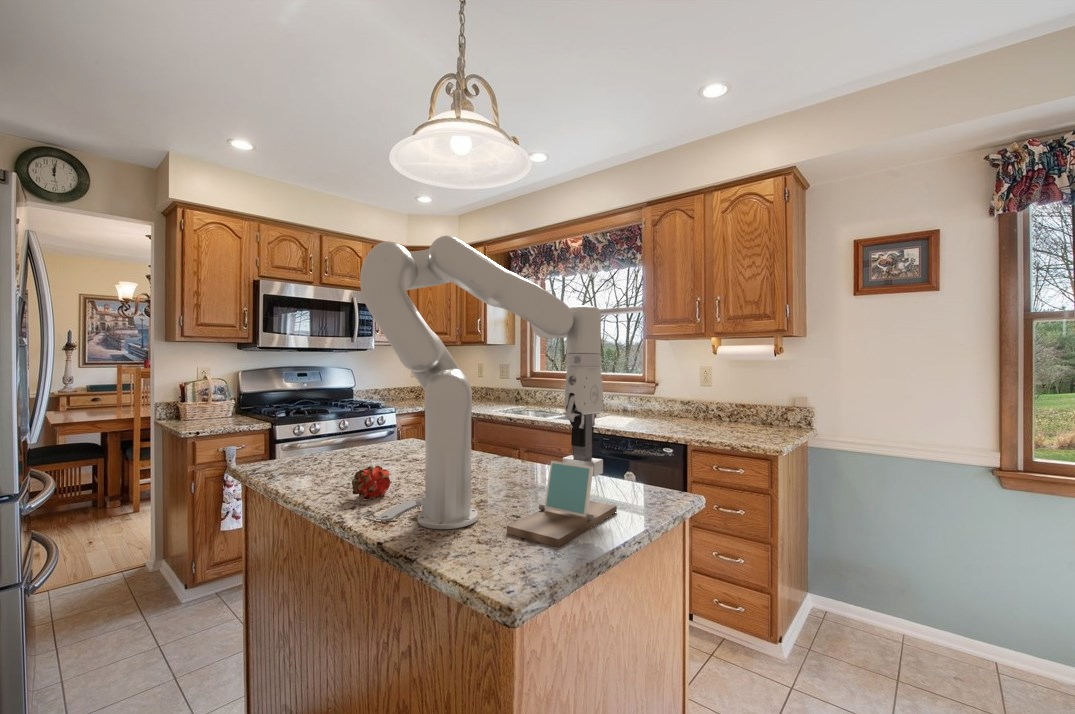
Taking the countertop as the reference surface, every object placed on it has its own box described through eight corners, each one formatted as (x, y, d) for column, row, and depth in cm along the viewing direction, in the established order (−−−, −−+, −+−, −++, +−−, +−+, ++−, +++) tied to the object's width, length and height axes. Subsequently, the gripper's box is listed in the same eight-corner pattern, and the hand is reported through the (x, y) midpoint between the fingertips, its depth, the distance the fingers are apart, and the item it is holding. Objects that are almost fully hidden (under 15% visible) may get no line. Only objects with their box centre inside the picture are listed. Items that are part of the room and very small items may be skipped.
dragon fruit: (351, 512, 111) (382, 504, 122) (378, 492, 109) (407, 487, 121) (336, 479, 113) (369, 475, 125) (363, 460, 112) (393, 458, 123)
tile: (546, 507, 103) (544, 507, 102) (553, 461, 105) (550, 460, 104) (587, 516, 97) (585, 516, 96) (593, 466, 99) (591, 466, 98)
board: (505, 533, 93) (505, 519, 93) (568, 502, 113) (568, 491, 113) (560, 547, 86) (560, 532, 86) (618, 513, 106) (618, 500, 106)
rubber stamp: (594, 476, 102) (594, 411, 102) (562, 471, 106) (562, 408, 106) (602, 473, 105) (603, 409, 105) (571, 468, 110) (571, 407, 110)
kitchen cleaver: (428, 487, 124) (459, 491, 119) (428, 491, 124) (459, 495, 119) (351, 515, 103) (384, 520, 98) (351, 520, 103) (384, 525, 98)
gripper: (580, 362, 97) (579, 452, 97) (614, 362, 110) (614, 441, 110) (549, 361, 101) (548, 448, 101) (586, 362, 115) (585, 438, 115)
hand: (582, 444), depth 106 cm, fingers closed on rubber stamp, 3 cm apart
